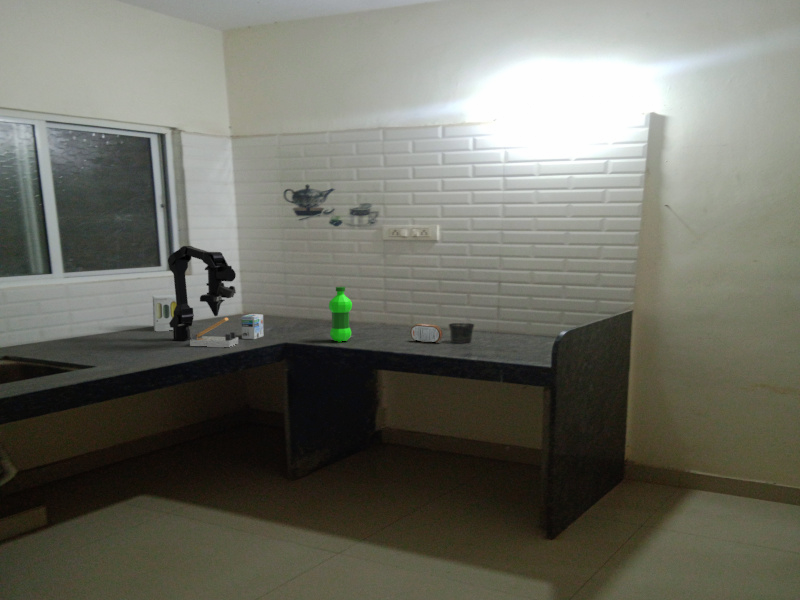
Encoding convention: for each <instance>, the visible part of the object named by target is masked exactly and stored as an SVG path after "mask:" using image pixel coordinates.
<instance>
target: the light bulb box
mask: <svg viewBox="0 0 800 600" xmlns="http://www.w3.org/2000/svg"><path fill="white" fill-rule="evenodd" d="M262 337H264V314H260V313H250V314H246V315H242V316H241V339H243V340H256V339H259V338H262Z"/></svg>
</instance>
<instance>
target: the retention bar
mask: <svg viewBox="0 0 800 600" xmlns="http://www.w3.org/2000/svg"><path fill="white" fill-rule="evenodd" d="M227 321H229V318H228V317H224V318H222V319H221V320H219V321H217V322H215V323H214V324H211V325H210V326H208V327H207V328H206V329H203V330H202V331H200V333H199V334H197V333H196V334H197V338H198V337H200V336H204V335H205V334H206V333H208V332H210V331H212V330H214V329H216V328H217V327H219V326H220V325H222V324H224V323H225V322H227Z"/></svg>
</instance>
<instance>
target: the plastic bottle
mask: <svg viewBox="0 0 800 600" xmlns="http://www.w3.org/2000/svg"><path fill="white" fill-rule="evenodd" d="M335 292H336V295H335V296H334V297H333V298H332V299H331V300H330V301H329V303H328V307H329V311H330V312H331V329H330V331H329V336H330V338H331V339H332V340H334V342H335V341H338V342H337V343H342V342H341V341H346V342H347V341H348V340H349V339H350V338H351V337H352V329H351V327H350V311H352V308H353V302H352V300H351V299H350V298H349V297H348V296H346V294H345V292H346V286H335Z"/></svg>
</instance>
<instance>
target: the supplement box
mask: <svg viewBox="0 0 800 600" xmlns="http://www.w3.org/2000/svg"><path fill="white" fill-rule="evenodd" d="M175 307H176V294H175V293H174V294H154V295H153V294H152V311H153V312H152V317H153V331H154V332H155V331H156V332H170V331H169V330H173V328H171V327H170V324H169V323H170V321H171V320H172V318H173V317H174V310H175ZM180 325H181V324H180Z"/></svg>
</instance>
